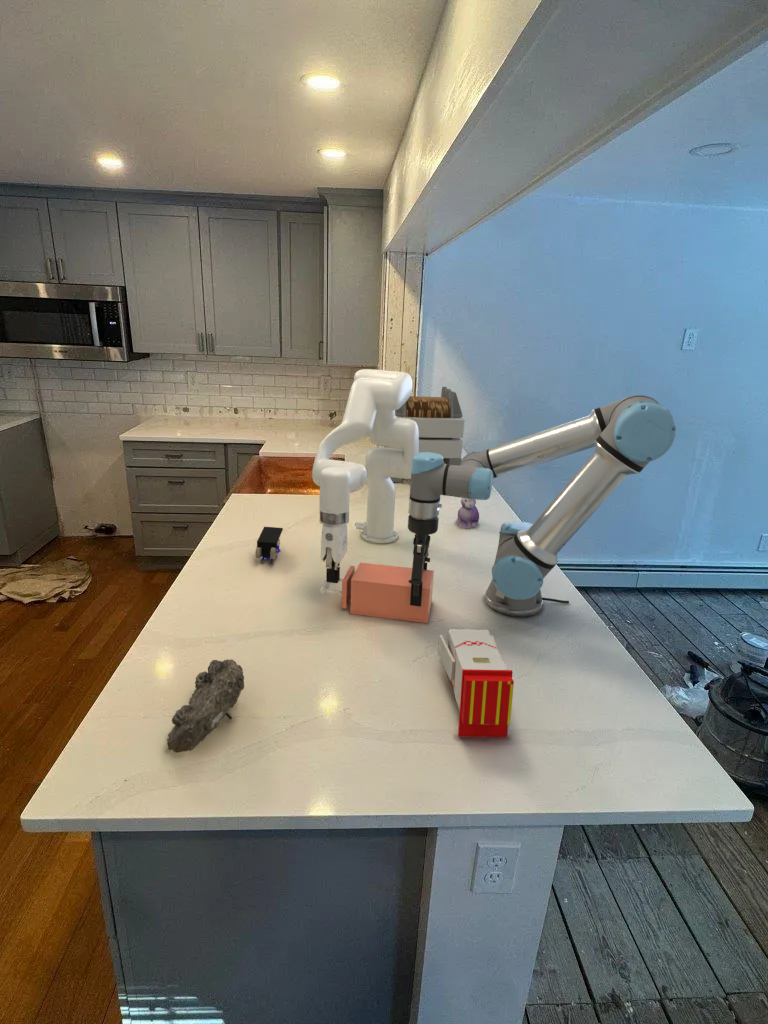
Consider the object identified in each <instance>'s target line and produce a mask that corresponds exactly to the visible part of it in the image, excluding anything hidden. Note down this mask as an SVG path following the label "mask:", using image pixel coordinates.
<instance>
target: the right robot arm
mask: <svg viewBox="0 0 768 1024" xmlns="http://www.w3.org/2000/svg"><path fill="white" fill-rule="evenodd" d="M676 435H677V426H676V423H675V420H674V417H673V414H671V412H670V410H669V409H668V408H667V407H665V405H663V404H661V403H660V402H658V400H656V399H655V398H653V397H651V396H648V395H645V394H644V395H643V394H633V395H629V396H625V397H622V398H621V399H618V400H616V401H613V402H610V403H608V404H605V405H603V406H600V407H597V408H594V409H591V412H590V413H589V415H586V416H584V417H580V418H578V419H574V420H571V421H569V422H568V421H567V422H566V423H562V424H559V425H556V426H554V427H550V428H548V429H545V430H541V431H538V432H535V433H532V434H529V435H525V436H524V437H521V438H518V439H514V440H511V441H508V442H506V443H505V442H504V443H502V444H500V445H496V446H493V447H491V448H488V449H485V450H481V451H477V450H475V451H471V452H469V453H467V454H465V456H464V457H463V458H462V461H461V463H460V465H459V466H457V465H449V464H444V461H443V456H442V455H440V454H435V453H431V452H422V453H418V454H416V455H415V456H414V457H413V460H412V469H411V473H410V474H411V479H410V481H409V482H410V483H409V484H410V486H409V497H408V514H409V515H407V516H408V518H407V530H408V531H409V532H410V533H412V534H414V538H413V540H412V542H413V543H412V544H413V549H412V555H413V558H412V567H411V568H412V577H411V580H409V583H411V598H410V605H412V606H420V607H421V599H422V585H423V582H422V576H423V569H424V570H428V563H430V562H431V557H429V548H430V543H431V538H432V537H431V535H434V534H436V533H437V532H438V530H439V520H440V519H439V515H440V509H442V508H443V504H442V503H440V502H441V496H444V497H445V496H446V497H452V498H453V497H454V498H460V499H462V498H468V499H472V500H476V501H477V500H478V501H487V500H489V499H490V497H491V494H492V489H493V482H494V481H493V480H494V479H496V478H499V477H502V476H505V475H508V474H512V473H515V472H517V471H521V470H525V469H527V468H528V469H529V468H531V467H534V466H538V465H541V464H544V463H548V462H551V461H553V460H556V459H560V458H563V457H567V456H570V455H573V454H576V453H579V452H583V451H586V450H589V449H593V448H595V450H594V452H593V453H592V454H591V455H590V457H589V458H588V459H587V460H586V461H585V463H584V464H583V465H581V467H580V468H579V469H578V471H577V472H576V473H575V474H574V476H573V477H572V478H571V479H570V480H569V481H568V483H567V484H566V485H565V486H564V487H563V488H562V490H560V492H559V493H558V494H557V495H556V496H555V498H554V499H553V500H552V501H551V502H550V504H549V505H548V506H547V507H546V508H545V510H544V511H543V512H542V513H541V514H540V515H539V517H537V519H536V520H535V521H534V523H531V522H525V521H505V522H504V523H502V524H501V525H500V529H499V532H498V534H499V536H498V537H499V538H498V543H497V544H498V545H497V550H496V554H495V559H494V563H493V566H492V568H491V575H492V579H491V581H490V582H489V585H488V587H487V589H486V591H485V598H484V601H485V603H486V605H487V606H488V607H489V608H490V609H492V610H493V611H494V612H497V613H499V614H502V615H505V616H510V617H516V618H525V617H532V616H535V615H537V614H539V613H540V612H541V611H542V609H543V601H547V602H554V603H558V604H569V603H570V601H569V600H561V599H556V598H551V597H544V596H542V591H541V589H542V587H543V585H544V579H545V578H546V577H547V575H548V574H549V573H550V572H551V571H552V570H553V569H554V568H555V566H556V565H557V564H558V563H559V560H558V554H559V552H560V551H561V550H562V549H563V548H564V546H565V545H567V543H568V542H569V541H570V540H571V539H572V538H573V536H575V534H576V533H577V532H578V531H579V530H580V529H581V528H582V527H583V525H584V524H585V523H587V521H588V520H589V519H590V518H591V517H592V515H593V514H594V513H595V512H596V511H597V510H598V509H599V508H600V507H601V505H602V504H604V502H606V500H607V499H608V498H609V497H610V496H611V494H612V493H613V492H614V491H615V490H616V489H617V488H618V487H619V485H620V484H621V483H622V482H623V481H624V480H626V478H627V477H628V476H630V475H637V474H638V475H639V474H640V473H641V472H642V471H643V470H644V469H645V468H646V467H647V466H648V465H649V464H650V462H653V461H656V460H658V459H660V458H661V457H663V456H664V455H665V454H667V452H669V450H670V449H671V447H672V446H673V445H674V442H675V440H676V437H677V436H676Z"/></svg>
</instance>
